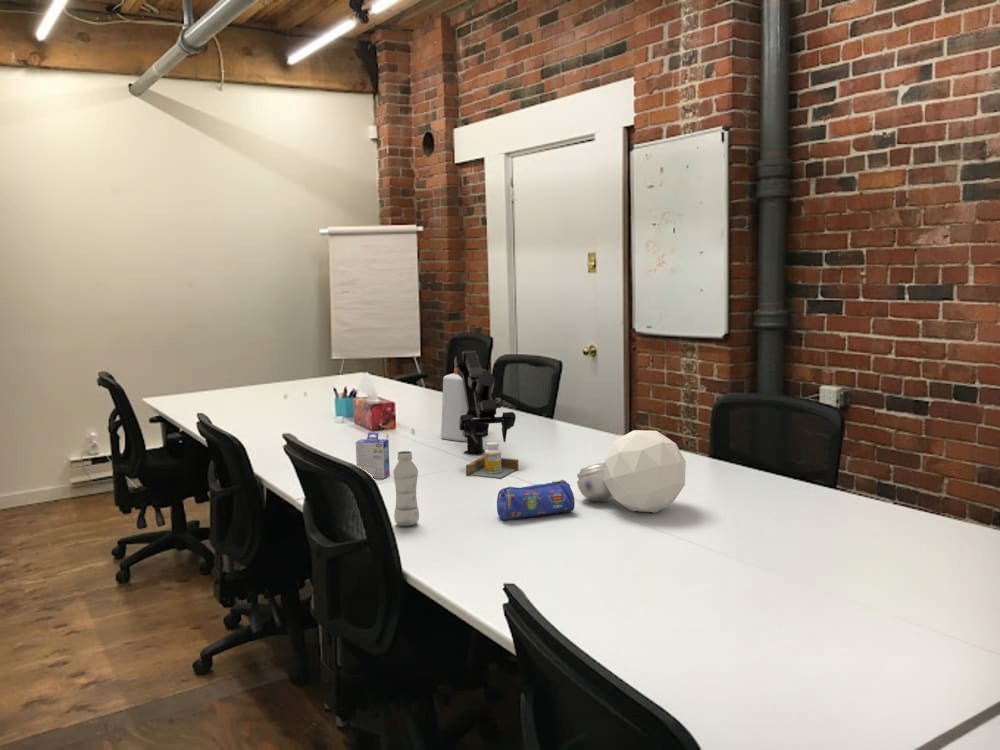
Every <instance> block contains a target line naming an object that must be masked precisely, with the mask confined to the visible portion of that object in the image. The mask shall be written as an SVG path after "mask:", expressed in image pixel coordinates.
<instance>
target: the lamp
mask: <svg viewBox="0 0 1000 750" xmlns="http://www.w3.org/2000/svg"><path fill="white" fill-rule="evenodd" d="M686 463H687V461H686V460H685V458H684V456H683V454H682V452H681V451H680V449H679V447H678V445H677V443H676V442H674V441H673V440H671V439H670V438H668V437H667V436H666V435H664V434H662V433H661V432H659V431H657V430H642V429H641V430H639V429H638V430H636V429H634V430H632V431H630V432H628V433H626V434H624V435H623V436H620V437H618V438H617V439H615V440H614V442H613V444H612V445H611V447H610V449H609V451H608V452H607V454H606V456H605V458H604V462H602V463H595V464H591V465H588V466H586V467H582V468H581V469H580V471H579V473H577V476H576V478H577V479H578V480H576V481H577V482H576V484H577V488H578V490H579V492H580V493H581V495H582V496H583V497H584V498H585V499H587V500H589V501H592V502H594V503H595V502H596V503H602V502H606V501H609V500H610V499H612V498H613V499H614V500H615V501H616V502H618V503H620V504H621V505H622V506H624V507H625V508H626V509H627V510H630V512H634V511H639V512H638V513H649V512H656V513H657V512H659V511H661V510H662V509H664V508H666V507H667V506H669V505H670V504H673V503H674V502H675V500H676V499H677V498H678V497H679V495H680V493H681V492H682V490H683V488H684V487H685V486H686V469H687V468H686V465H687V464H686Z"/></svg>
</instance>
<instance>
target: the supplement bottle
mask: <svg viewBox="0 0 1000 750" xmlns="http://www.w3.org/2000/svg"><path fill="white" fill-rule="evenodd" d="M484 456H485V472H486V473H499V472H501V458H502V451H501V449H500V448H499V441H488V442H486V449H485V452H484Z"/></svg>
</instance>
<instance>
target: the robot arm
mask: <svg viewBox="0 0 1000 750" xmlns="http://www.w3.org/2000/svg"><path fill="white" fill-rule="evenodd" d="M453 363H454V364H453V365H454V368H456V370H457V374H458V375H459V376H460V377H461V378H462V380H463V386H464V392H465V399H466V405H467V414H466V415H461V416H460V420H459V429H460V430H462V433H463V436H464V437H465V438H466V437H467V442H466V447H467V450H465V451H463V454H467V455H482V454H485V450H486V449H485V448H484V437H488V436H489V427H490V424H501V433H502V440H503V443H506V439H507V432H508V430H511V428H513V427H514V426H515V422H516V420H517V419H516V418H517V416H516V414H515V412H514V411H506V412H505V411H504V412H502V414H501V415H502V416H495V415H497V410H498V409H501V408H502V405H503V404H502V399H501V397H495V398H494V399H493V398H492V394H493V390H494V386H495V382H496V377H494V375H493V374H492V373H489V372H488V370H487V369H484V368H482V365H481V364H480V360H479V354H478V353H477V351H476V350H464V351H462V352H461V353H459V354H457V355H455V357H454V360H453ZM483 436H484V437H483Z"/></svg>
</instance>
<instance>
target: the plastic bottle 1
mask: <svg viewBox="0 0 1000 750" xmlns="http://www.w3.org/2000/svg"><path fill="white" fill-rule="evenodd" d="M397 460H398V462H397V464H396V465H395V467H394V468H393V472H392V473H393V476H392V477H393V480H394V486H395V508H394V513H393V518H394V522H395V524H396V525H397V526H401V527H409V526H410V527H412V526H414V525H417V523H418V522H419V519H420V510H419V507H418V501H417V500H418V499H417V484H418V475H419V470H418V468H417V466H416V465H415V464H414V462H413V461H412V460H413V455H412V451H409V450H404V451H398V452H397Z"/></svg>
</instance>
